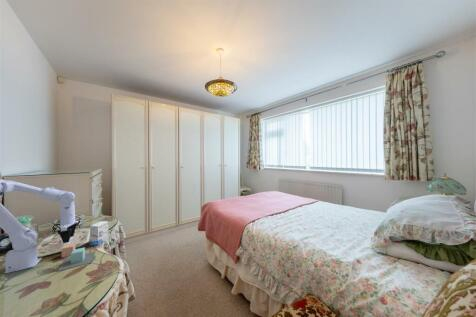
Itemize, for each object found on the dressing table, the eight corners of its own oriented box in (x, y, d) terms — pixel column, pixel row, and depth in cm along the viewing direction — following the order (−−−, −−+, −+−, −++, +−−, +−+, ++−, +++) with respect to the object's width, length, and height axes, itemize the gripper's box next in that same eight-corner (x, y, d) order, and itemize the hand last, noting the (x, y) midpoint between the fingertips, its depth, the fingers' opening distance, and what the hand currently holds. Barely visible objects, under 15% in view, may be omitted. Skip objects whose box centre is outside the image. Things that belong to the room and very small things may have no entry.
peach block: (61, 258, 93) (61, 248, 93) (64, 254, 97) (64, 245, 97) (73, 255, 95) (72, 246, 95) (75, 251, 99) (75, 242, 99)
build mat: (57, 271, 82) (57, 270, 82) (66, 258, 92) (66, 257, 92) (90, 263, 88) (90, 262, 88) (95, 251, 98) (95, 251, 98)
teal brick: (70, 263, 87) (70, 253, 87) (73, 259, 91) (73, 249, 91) (82, 261, 89) (82, 251, 89) (85, 256, 93) (84, 247, 93)
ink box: (98, 245, 105) (97, 226, 105) (89, 245, 105) (89, 226, 105) (108, 238, 114) (108, 220, 114) (101, 238, 114) (100, 220, 114)
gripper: (73, 217, 91) (74, 243, 91) (81, 209, 104) (81, 232, 104) (54, 219, 88) (55, 246, 88) (64, 211, 100) (65, 235, 100)
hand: (68, 239), depth 96 cm, fingers open, 7 cm apart
